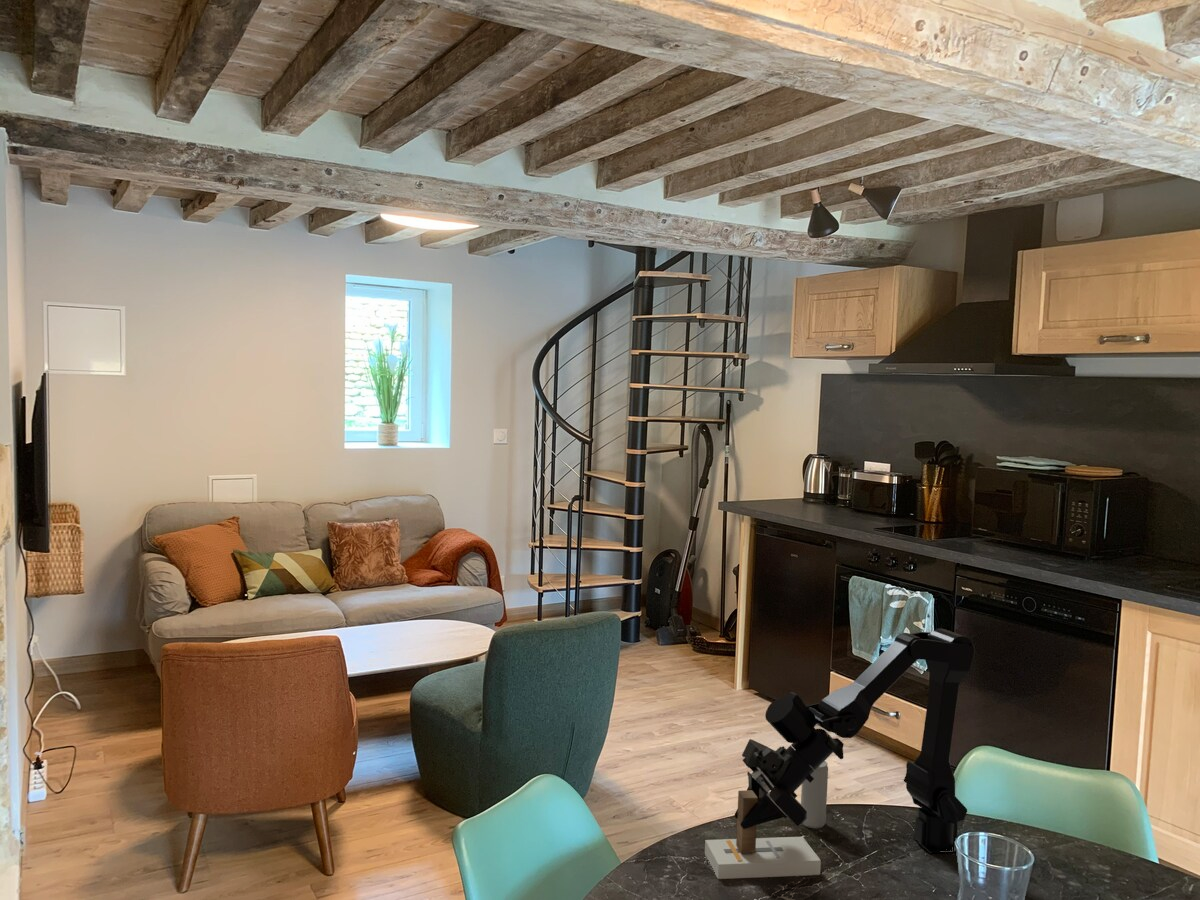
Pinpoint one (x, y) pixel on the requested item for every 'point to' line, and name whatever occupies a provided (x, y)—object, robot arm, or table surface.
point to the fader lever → (744, 836)
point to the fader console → (763, 858)
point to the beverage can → (815, 797)
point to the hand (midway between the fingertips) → (738, 822)
